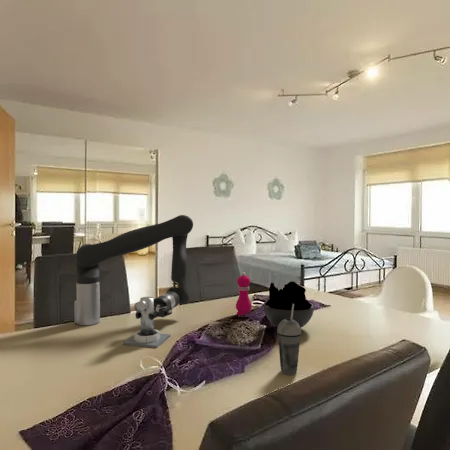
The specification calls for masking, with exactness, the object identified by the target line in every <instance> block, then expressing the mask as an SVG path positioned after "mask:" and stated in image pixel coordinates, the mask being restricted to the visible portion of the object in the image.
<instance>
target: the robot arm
mask: <svg viewBox="0 0 450 450" xmlns="http://www.w3.org/2000/svg"><path fill="white" fill-rule="evenodd" d="M193 227H194V222H193V219H192V218H191V217H190V216H188V215H185V214H179V215H178V216H175V217H173V218H171V219H168V220H166V221H163V222H160V223H157V224H152V225H147V226H143V227H139V228H135V229H132V230H128V231H126V232H124V233H122V234H120V235H116V236H115V237H114V238H112V239H108V240H106V241H102V242H97V243H93V244H91V243H84V244H82V245H81V246H79V248H78V249H77V251H76V253H75V259H76V260H75V261H76V264H75V265H76V272H75V273H76V274H75V275H76V276H75V278H76V279H75V281H76V285H75V286H76V300H74V324H75V323H77V325H78V324H79V325H78V326H93V325H96V323H97V324H99V323H100V322H101V299H100V298H101V293H100V291H101V288H100V276H101V275H100V273H101V272H100V263H102V262H104V261H107V260H109V259H112V258H115V257H119V256H123V255H127V254H131V253H135V252H138V251H141V250H144V249H147V248H149V247H152V246H154V245H156V244H158V243H160V242H163V241H164V240H167V239H169V238H171V239H172V255H171V256H172V258H171V260H172V261H171V272H170V273H171V275H170V278H171V282H173V283H178V284H179V285H180V287H169V288H168V289H167V290H166V291H165V293H164V294H160V295H159V296H157V297H155V298H154V312H152V313H151V314H150V320H153V319H154V320H155V319H156V318H166V317H168V316H170V315H172V314H173V309H174V308H176V307H177V306H178V305H185V304H188V303H189V301H190V299H191V293H190V288H189V284H188V256H187V241H188V240H187V239H188V236H189V234H190V233H191V232H192V230H193ZM135 319H137V320H138V319H140V312H136V311H135Z"/></svg>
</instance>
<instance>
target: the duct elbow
mask: <svg viewBox="0 0 450 450" xmlns="http://www.w3.org/2000/svg"><path fill="white" fill-rule="evenodd" d="M154 299H155V298H154V297H153V296H142V297H140V300H139V301H137V302H135V303H134V305H133V309H134V311H135V313H136V312H140V318H139V319H140V325H139V326H140V330H141V334H140V336H151V335H154V329H155V318H154V319H153V320H150V314H151V313H152V312H154Z"/></svg>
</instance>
